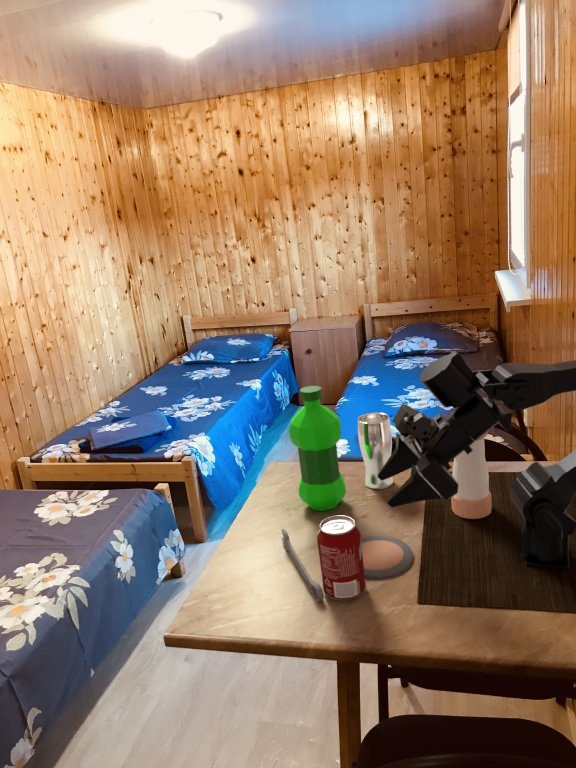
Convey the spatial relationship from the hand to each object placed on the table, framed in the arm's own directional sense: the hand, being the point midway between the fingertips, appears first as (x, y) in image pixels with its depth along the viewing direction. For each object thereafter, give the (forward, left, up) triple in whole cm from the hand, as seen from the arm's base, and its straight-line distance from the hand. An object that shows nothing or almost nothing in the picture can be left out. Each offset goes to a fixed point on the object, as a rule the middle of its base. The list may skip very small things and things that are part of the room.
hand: (383, 490), depth 97 cm
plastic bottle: (+18, -21, -15) cm, 32 cm away
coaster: (+3, -4, -15) cm, 16 cm away
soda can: (+6, +6, -15) cm, 18 cm away
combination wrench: (+15, +2, -16) cm, 22 cm away
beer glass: (+9, -32, -15) cm, 37 cm away
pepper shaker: (-11, -23, -15) cm, 30 cm away
